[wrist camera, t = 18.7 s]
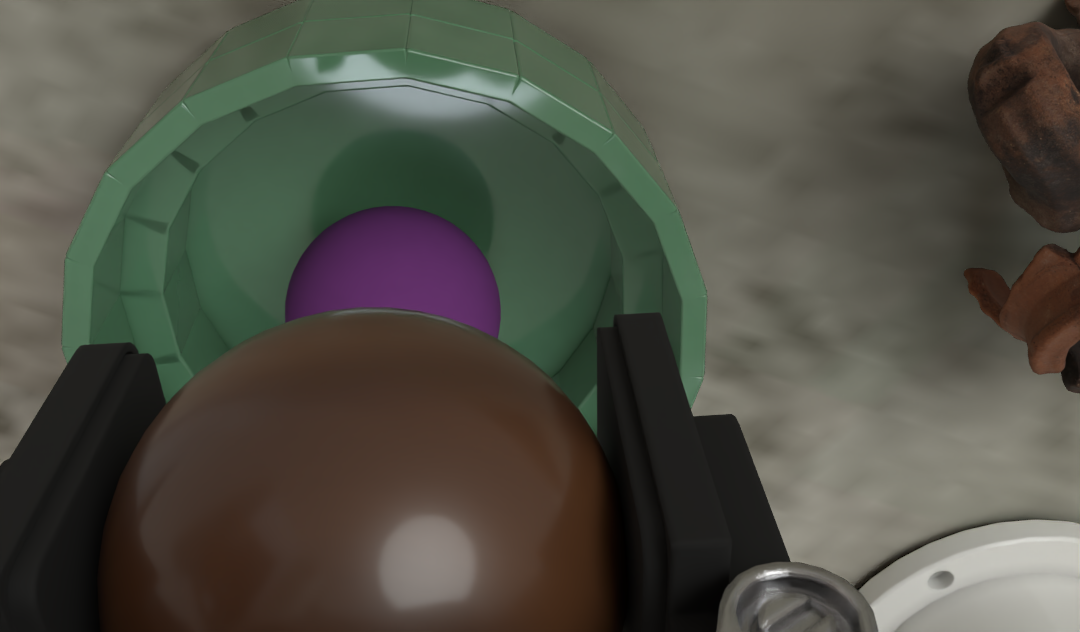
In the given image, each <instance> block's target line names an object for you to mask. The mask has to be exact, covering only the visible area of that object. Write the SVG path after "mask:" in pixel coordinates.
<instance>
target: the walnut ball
mask: <svg viewBox="0 0 1080 632" xmlns="http://www.w3.org/2000/svg"><path fill="white" fill-rule="evenodd" d="M97 592H98V609H99V624H100V632H622V631H623V627H624V624H625V620H626V613H627V603H628V569H627V552H626V540H625V528H624V520H623V512H622V505H621V497H620V493H619V489H618V486H617V483H616V479H615V476H614V473H613V471H612V469H611V466H610V464H609V462H608V459H607V457H606V455H605V453H604V450H603V448H602V447H601V445H600V443H599V441H598V439H597V437H596V435H595V434H594V432H593V430H592V429H591V427H590V426H589V424H588V422H587V421H586V419H585V418H584V416H583V415H582V413H581V412H580V410H579V409H578V408H577V407H576V406H575V404H574V403H573V402H572V401H571V400H570V399H569V398H568V396H567V395H566V394H565V393H564V392H563V391H562V390H561V388H560V387H559V386H558V385H557V384H556V383H555V382H554V381H553V379H552V378H551V377H550V376H548V375H547V374H546V373H545V372H544V371H543V370H542V369H540V368H539V367H538V366H537V365H536V364H535V363H533V362H532V361H531V360H530V359H528V358H527V357H525V356H524V355H522V354H521V353H519V352H518V351H516V350H515V349H513V348H512V347H510V346H509V345H507V344H506V343H504V342H502V341H500V340H499V339H497V338H495V337H493V336H491V335H489V334H487V333H485V332H483V331H481V330H479V329H477V328H475V327H473V326H470V325H467V324H464V323H462V322H459V321H456V320H453V319H450V318H447V317H444V316H440V315H435V314H431V313H427V312H422V311H418V310H409V309H400V308H391V307H357V308H348V309H339V310H331V311H326V312H322V313H318V314H313V315H309V316H305V317H301V318H298V319H295V320H292V321H289V322H286V323H283V324H281V325H278V326H275V327H273V328H270V329H267V330H264V331H262V332H260V333H258V334H256V335H254V336H253V337H251V338H249V339H247V340H245V341H243V342H241V343H239V344H237V345H236V346H234V347H233V348H231V349H230V350H229V351H227V352H226V353H224V354H223V355H221V356H220V357H219V358H217V359H216V360H214V361H213V362H212V363H210V364H209V365H207V366H206V367H204V368H203V369H202V370H200V371H199V372H198V373H197V374H196V375H194V376H193V377H192V378H191V379H190V380H189V381H188V382H187V383H186V384H185V385H184V386H183V387H182V388H181V389H180V390H179V391H178V392H177V393H176V394H175V395H174V396H173V397H172V398H171V399H170V401H169V402H168V403H167V404H166V405H165V406H164V407H163V408H162V410H161V411H160V412H159V414H158V415H157V416H156V418H155V419H154V420H153V421H152V423H151V424H150V425H149V427H148V428H147V429H146V431H145V432H144V434H143V436H142V437H141V439H140V441H139V443H138V444H137V446H136V448H135V450H134V451H133V453H132V455H131V457H130V459H129V461H128V463H127V465H126V466H125V468H124V470H123V472H122V474H121V476H120V479H119V481H118V484H117V487H116V490H115V493H114V496H113V499H112V502H111V505H110V508H109V511H108V515H107V518H106V521H105V524H104V528H103V535H102V542H101V550H100V557H99V565H98V573H97Z"/></svg>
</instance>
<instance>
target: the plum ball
mask: <svg viewBox="0 0 1080 632" xmlns="http://www.w3.org/2000/svg"><path fill="white" fill-rule="evenodd" d="M357 307H391V308H400V309H409V310H418V311H422V312H427V313H431V314H435V315H440V316H444V317H447V318H450V319H453V320H456V321H459V322H462V323H464V324H467V325H470V326H473V327H475V328H477V329H479V330H481V331H483V332H485V333H487V334H489V335H491V336H493V337H495V338H497V339H498V335H499V328H500V321H501V305H500V297H499V290H498V286H497V283H496V280H495V277H494V274H493V272H492V269H491V267H490V265H489V263H488V261H487V259H486V258H485V256H484V255H483V253H482V252H481V250H480V249H479V248H478V246H477V245H476V244H475V243H474V242H473V241H472V240H471V238H470V237H469V236H468V235H466V234H465V233H464V232H463V231H462V230H461V229H460V228H458V227H457V226H455V225H454V224H452V223H451V222H449V221H447V220H446V219H444V218H442V217H440V216H438V215H435V214H432V213H430V212H427V211H424V210H420V209H416V208H412V207H403V206H382V207H373V208H369V209H365V210H361V211H358V212H355V213H353V214H350V215H348V216H346V217H344V218H342V219H341V220H339V221H337V222H335V223H333V224H332V225H330V226H329V227H328V228H326V229H325V230H324V231H322V232H321V233H320V234H319V235H318V236H317V237H316V238H315V239H314V240H313V241H312V243H311V244H310V245H309V246H308V247H307V249H306V250H305V251H304V253H303V254H302V256H301V258H300V259H299V261H298V263H297V265H296V267H295V269H294V271H293V273H292V276H291V279H290V282H289V286H288V290H287V295H286V301H285V323H286V322H289V321H292V320H295V319H298V318H301V317H305V316H309V315H313V314H318V313H322V312H326V311H331V310H339V309H348V308H357Z"/></svg>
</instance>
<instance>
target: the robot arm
mask: <svg viewBox="0 0 1080 632" xmlns="http://www.w3.org/2000/svg"><path fill="white" fill-rule="evenodd" d="M165 405H166V401H165V398H164V394H163V390H162V386H161V382H160V379H159V375H158V371H157V367H156V364H155V361H154V359H153V357H152V355H150V354H149V353H142V354H139V352H138V350H137V348H136V347H135V345H134V344H132V343H131V342H124V343H107V344H89V345H81V346H79V348H78V349H77V350H76V351H75V353H74V354H73V356H72V358H71V359H70V361H69V363H68V364H67V366H66V367H65V369H64V371H63V372H62V374H61V376H60V377H59V379H58V381H57V382H56V384H55V385H54V387H53V389H52V390H51V392H50V394H49V395H48V397H47V399H46V400H45V402H44V403H43V405H42V407H41V408H40V410H39V412H38V413H37V415H36V417H35V418H34V420H33V421H32V423H31V425H30V426H29V428H28V430H27V431H26V433H25V435H24V436H23V438H22V439H21V441H20V443H19V444H18V446H17V448H16V449H15V451H14V453H13V454H12V456H11V457H10V459H8V460H6V461H4V462H3V463H2V464H1V466H0V632H100V624H99V609H98V592H97V573H98V565H99V557H100V550H101V542H102V535H103V528H104V524H105V521H106V518H107V515H108V511H109V508H110V505H111V502H112V499H113V496H114V493H115V490H116V487H117V484H118V481H119V479H120V476H121V474H122V472H123V470H124V468H125V466H126V465H127V463H128V461H129V459H130V457H131V455H132V453H133V451H134V450H135V448H136V446H137V444H138V443H139V441H140V439H141V437H142V436H143V434H144V432H145V431H146V429H147V428H148V427H149V425H150V424H151V423H152V421H153V420H154V419H155V418H156V416H157V415H158V414H159V412H160V411H161V410H162V408H163V407H164V406H165ZM597 439H598V441H599V443H600V445H601V447H602V448H603V450H604V453H605V455H606V457H607V459H608V462H609V464H610V466H611V469H612V471H613V473H614V476H615V479H616V483H617V486H618V489H619V493H620V497H621V505H622V512H623V520H624V528H625V540H626V552H627V569H628V603H627V613H626V620H625V624H624V627H623V631H622V632H1080V524H1078V523H1073V522H1069V521H1054V520H1038V519H1034V520H1023V521H1011V522H1000V523H995V524H990V525H986V526H982V527H977V528H973V529H968V530H964V531H961V532H958V533H956V534H953V535H950V536H947V537H945V538H942V539H939V540H937V541H934V542H931V543H929V544H927V545H925V546H923V547H921V548H919V549H917V550H915V551H913V552H911V553H910V554H908V555H906V556H904V557H902V558H900V559H898V560H897V561H895V562H894V563H892V564H891V565H889V566H888V567H887V568H885V569H884V570H882V571H881V572H880V573H878V574H877V575H875V576H874V577H873V578H871V579H870V580H869V581H868V582H867V583H866V584H865V585H864V586H863V587H862V588H860V589H859V590H857V589H856V588H855V587H853V586H852V585H851V584H850V583H849V582H847V581H846V580H845V579H843V578H841V577H839V576H837V575H835V574H833V573H831V572H829V571H827V570H825V569H823V568H820V567H816V566H812V565H808V564H804V563H800V562H791V561H790V559H789V556H788V553H787V551H786V548H785V545H784V543H783V540H782V537H781V535H780V532H779V529H778V527H777V524H776V521H775V519H774V516H773V513H772V511H771V508H770V505H769V503H768V500H767V497H766V494H765V492H764V489H763V486H762V484H761V481H760V478H759V476H758V473H757V470H756V468H755V465H754V462H753V460H752V457H751V454H750V452H749V449H748V446H747V444H746V441H745V438H744V436H743V433H742V430H741V428H740V425H739V423H738V421H737V419H736V417H735V416H734V415H732V414H726V415H710V416H693V415H692V412H691V408H690V405H689V402H688V399H687V396H686V392H685V389H684V386H683V383H682V380H681V376H680V373H679V370H678V367H677V364H676V360H675V357H674V354H673V351H672V348H671V344H670V341H669V338H668V335H667V332H666V328H665V325H664V322H663V319H662V316H661V314H660V313H659V312H654V313H636V314H618V315H614V319H613V327H598V329H597Z"/></svg>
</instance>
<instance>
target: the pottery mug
mask: <svg viewBox="0 0 1080 632" xmlns="http://www.w3.org/2000/svg"><path fill="white" fill-rule="evenodd" d="M1065 5H1066V7H1067V9H1068V11H1069V12H1070V13H1071V14H1072V15H1073V16H1075V17H1076V19H1077V23H1078V25H1079V27H1080V0H1065ZM968 93H969V100H970V103H971V106H972V109H973V112H974V115H975V117H976V120H977V124H978V127H979V129H980V131H981V133H982V135H983V137H984V139H985V141H986V142H987V144H988V146H989V147H990V149H991V151H992V152H993V153H994V155H995V156H996V157H997V159H998V160H999V161H1000V163H1001V165H1002V168H1003V170H1004V173H1005V176H1006V178H1007V181H1008V183H1009V192H1010V195H1011V197H1012V199H1013V200H1014V202H1015V203H1016V204H1018V205H1019V206H1020V207H1021V208H1023V209H1024V210H1025V211H1026V212H1027V213H1029V214H1030V215H1031V216H1032V217H1033V218H1034V219H1035V220H1036V221H1037V222H1038V223H1039V224H1040V225H1041V226H1042V227H1044V228H1047V229H1049V230H1051V231H1054V232H1059V233H1067V232H1074V231H1077V230H1079V229H1080V29H1070V28H1068V29H1058V30H1056V29H1053V28H1050V27H1048V26H1047V25H1045V24H1043V23H1041V22H1030V23H1026V24H1023V25H1018V26H1012V27H1008V28H1005V29H1003V30H1002V31H1000V32H999V33H998V34H997V35H996V37H995V38H994V39H993V40H991V41H990V42H989V43H987V44H986V45H985V46H983V47H982V48H981V49H980V51H979V52H978V54H977V55H976V58H975V60H974V63H973V66H972V68H971V71H970V73H969V78H968ZM964 276H965V278H966V279H967V281H968V289H969V292H970V294H972V295H973V296H974V297H975V298H976V299H977V300H978V302H979V305H980V308H981V310H982V311H983V312H984V313H985V314H986V315H988V316H989V317H991V318H992V319H993V320H994V321H995V322H996V323H997V325H999V326H1000V327H1001V328H1002V329H1004V330H1005V331H1006V332H1008V333H1009V334H1011V335H1012V336H1013V337H1014V338H1016V339H1018V340H1021V341H1024V342H1026V343H1027V345H1028V358H1029V364H1030V366H1031V369H1032V370H1033V372H1034V373H1037V374H1046V373H1060V372H1061V376H1062V380H1063V383H1064V385H1065V387H1066V389H1067V390H1069V391H1071V392H1074V393H1080V247H1079V248H1078V250H1077V251H1076V252H1075V253H1070V252H1068V251H1067V250H1066V249H1063V248H1062V247H1060V246H1058V245H1056V244H1047V245H1045V246H1043V247H1042V248H1041V249H1040V250H1039V251H1038V252H1037V253H1036V255H1035V256H1034V258H1033V260H1032V261H1031V262H1030V264H1029V265H1028V267H1027V268H1026V269H1025V271H1024V273H1023V274H1022V275H1021V276H1020V277H1019V278H1018V280H1017V281H1016V282H1015V283H1014V284H1013V286H1012V288H1011V290H1010V288H1009V287H1008V286H1007V284H1006V283H1005V281H1004V279H1003V278H1002V277H1001V275H999V274H998V273H997V272H995V271H993V270H987V269H983V268H969V269H966V270H965V271H964Z"/></svg>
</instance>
